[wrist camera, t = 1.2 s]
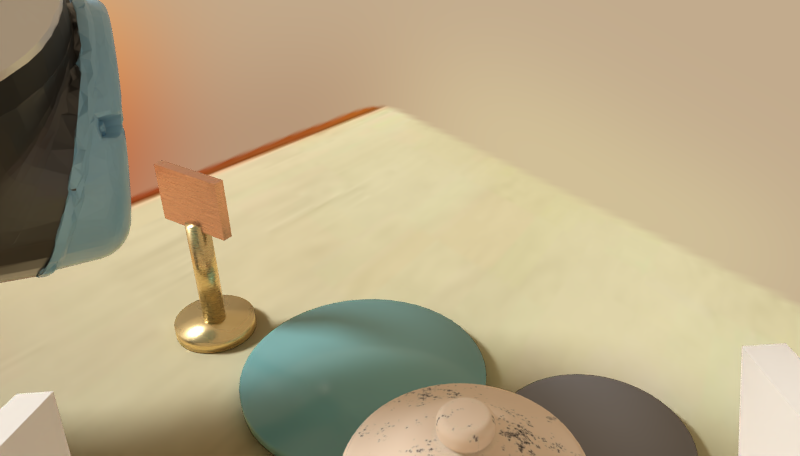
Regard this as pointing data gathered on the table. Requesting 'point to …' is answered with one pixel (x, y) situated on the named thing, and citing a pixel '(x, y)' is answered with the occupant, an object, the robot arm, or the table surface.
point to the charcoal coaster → (612, 416)
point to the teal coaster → (347, 371)
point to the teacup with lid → (462, 425)
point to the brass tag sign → (204, 260)
